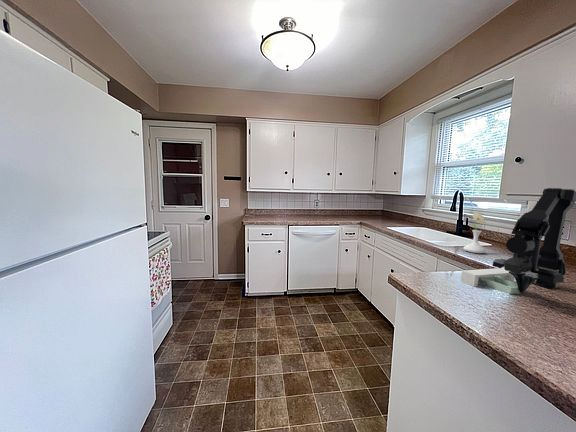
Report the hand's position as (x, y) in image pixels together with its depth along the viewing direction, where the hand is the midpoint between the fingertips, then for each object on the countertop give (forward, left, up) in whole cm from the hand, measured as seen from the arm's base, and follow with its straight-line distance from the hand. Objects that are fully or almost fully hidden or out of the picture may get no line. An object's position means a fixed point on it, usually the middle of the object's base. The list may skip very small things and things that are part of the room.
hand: (521, 292), depth 91 cm
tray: (0, -7, -1) cm, 7 cm away
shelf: (0, -12, -1) cm, 12 cm away
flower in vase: (-48, -55, -1) cm, 73 cm away
